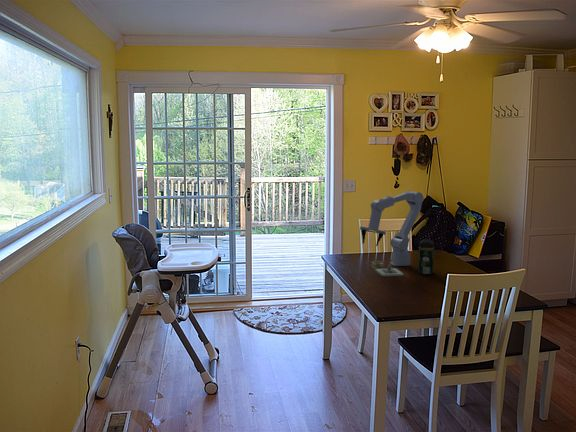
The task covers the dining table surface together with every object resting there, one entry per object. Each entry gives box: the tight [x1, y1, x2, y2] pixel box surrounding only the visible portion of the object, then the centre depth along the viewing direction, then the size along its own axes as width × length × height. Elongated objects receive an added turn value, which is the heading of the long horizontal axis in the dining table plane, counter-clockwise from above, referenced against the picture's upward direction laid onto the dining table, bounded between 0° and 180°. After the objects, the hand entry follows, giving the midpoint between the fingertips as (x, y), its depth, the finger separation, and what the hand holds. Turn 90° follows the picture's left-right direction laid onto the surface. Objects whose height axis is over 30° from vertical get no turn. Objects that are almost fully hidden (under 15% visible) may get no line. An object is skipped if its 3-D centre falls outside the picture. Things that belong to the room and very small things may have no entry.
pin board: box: [374, 263, 405, 277], centre depth 281 cm, size 12×12×5 cm
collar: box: [370, 261, 384, 270], centre depth 293 cm, size 5×5×3 cm
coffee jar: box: [417, 238, 435, 276], centre depth 281 cm, size 10×8×19 cm
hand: (369, 244), depth 290 cm, fingers open, 7 cm apart
